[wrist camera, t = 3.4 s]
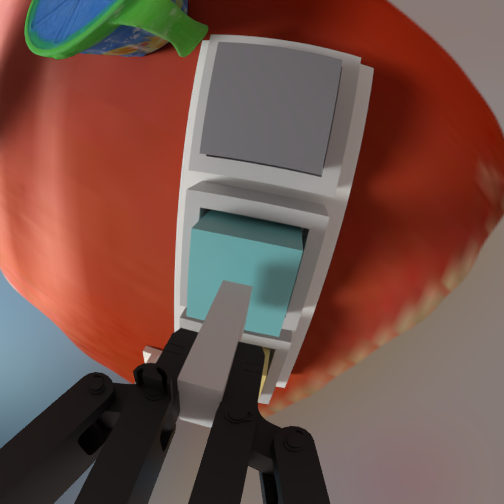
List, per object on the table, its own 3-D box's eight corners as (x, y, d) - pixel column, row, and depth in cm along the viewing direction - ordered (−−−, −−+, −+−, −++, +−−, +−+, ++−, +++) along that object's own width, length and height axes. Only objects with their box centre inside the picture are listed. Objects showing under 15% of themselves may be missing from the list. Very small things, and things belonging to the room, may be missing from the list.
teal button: (203, 284, 21) (186, 316, 17) (211, 208, 18) (191, 228, 15) (281, 301, 20) (278, 336, 17) (300, 226, 18) (303, 250, 14)
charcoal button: (219, 149, 16) (199, 153, 13) (234, 60, 14) (218, 41, 10) (314, 166, 16) (321, 175, 13) (331, 76, 14) (342, 59, 10)
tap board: (181, 350, 29) (165, 382, 25) (210, 47, 17) (187, 27, 12) (285, 374, 28) (282, 409, 24) (366, 73, 16) (387, 57, 11)
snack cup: (258, 25, 15) (232, -46, 6) (163, 114, 19) (78, 110, 10) (147, -42, 12) (92, -84, 3) (76, 33, 16) (3, 18, 7)
